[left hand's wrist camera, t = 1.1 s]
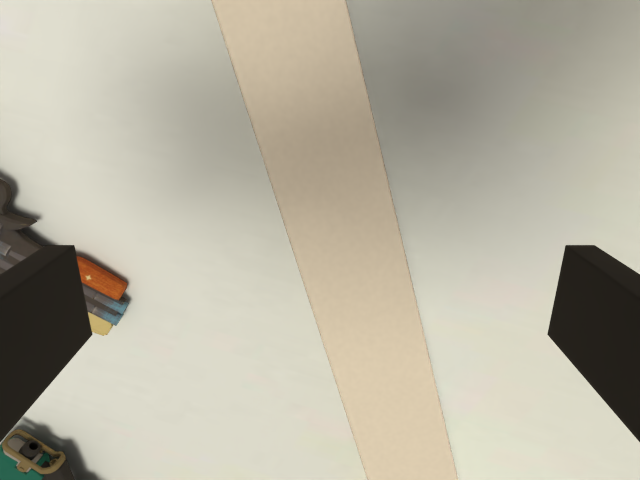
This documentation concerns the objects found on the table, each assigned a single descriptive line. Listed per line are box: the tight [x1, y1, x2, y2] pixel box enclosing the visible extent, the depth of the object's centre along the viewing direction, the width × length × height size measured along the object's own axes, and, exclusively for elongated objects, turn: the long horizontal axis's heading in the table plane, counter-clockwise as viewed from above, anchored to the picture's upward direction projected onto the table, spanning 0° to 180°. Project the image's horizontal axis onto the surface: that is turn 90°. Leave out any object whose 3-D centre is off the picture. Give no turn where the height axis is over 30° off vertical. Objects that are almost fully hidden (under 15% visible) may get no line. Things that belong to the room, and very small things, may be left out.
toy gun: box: [0, 179, 129, 336], centre depth 30 cm, size 3×19×10 cm
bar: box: [211, 0, 458, 480], centre depth 32 cm, size 67×6×8 cm, turn 16°
